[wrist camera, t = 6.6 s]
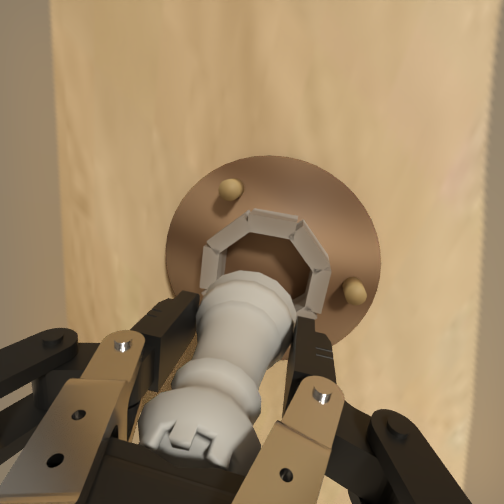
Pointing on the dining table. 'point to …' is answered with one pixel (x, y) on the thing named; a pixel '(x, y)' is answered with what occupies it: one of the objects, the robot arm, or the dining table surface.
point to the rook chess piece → (222, 377)
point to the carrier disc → (279, 238)
